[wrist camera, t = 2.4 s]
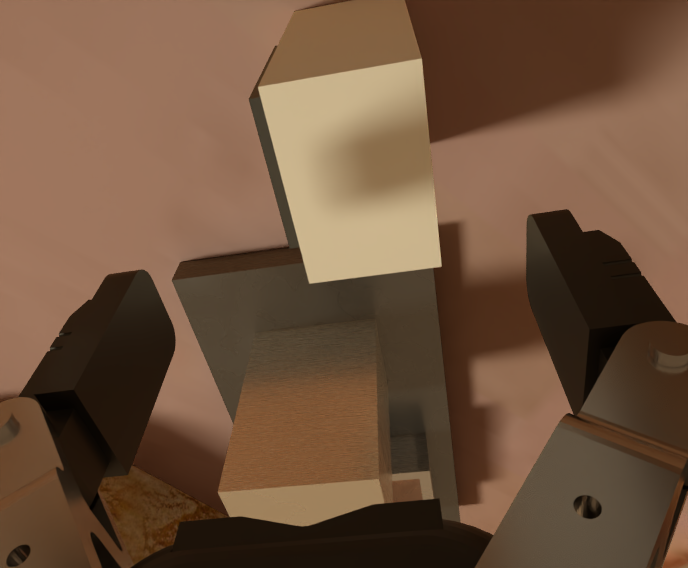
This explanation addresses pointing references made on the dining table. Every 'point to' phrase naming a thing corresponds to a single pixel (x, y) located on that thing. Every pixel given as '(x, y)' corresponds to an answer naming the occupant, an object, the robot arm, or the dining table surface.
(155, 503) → the bread
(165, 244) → the dining table surface
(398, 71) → the beige block
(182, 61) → the dining table surface
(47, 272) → the dining table surface
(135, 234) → the dining table surface
